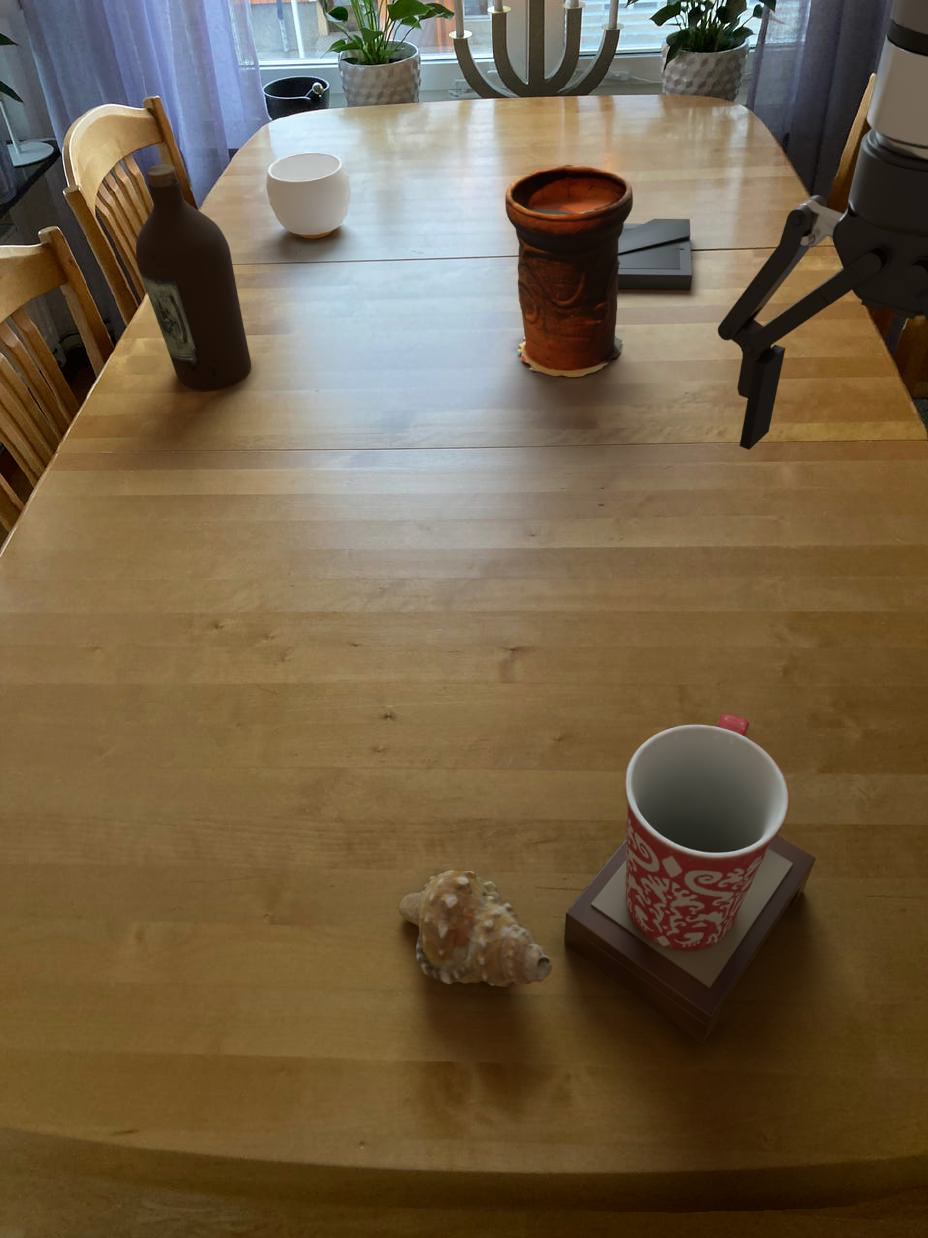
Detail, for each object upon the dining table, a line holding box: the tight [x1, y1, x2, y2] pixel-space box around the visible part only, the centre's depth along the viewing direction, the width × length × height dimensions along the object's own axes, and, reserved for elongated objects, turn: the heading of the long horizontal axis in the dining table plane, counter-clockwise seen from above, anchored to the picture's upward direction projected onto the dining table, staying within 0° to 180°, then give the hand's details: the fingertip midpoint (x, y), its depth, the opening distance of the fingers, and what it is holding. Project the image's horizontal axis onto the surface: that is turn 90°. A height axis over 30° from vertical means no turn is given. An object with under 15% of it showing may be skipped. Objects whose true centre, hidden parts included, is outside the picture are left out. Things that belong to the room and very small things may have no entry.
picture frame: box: [618, 218, 693, 291], centre depth 137 cm, size 16×3×21 cm
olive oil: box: [135, 163, 252, 392], centre depth 114 cm, size 11×11×25 cm
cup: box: [265, 151, 352, 240], centre depth 147 cm, size 12×12×10 cm
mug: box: [624, 713, 790, 951], centre depth 60 cm, size 13×9×14 cm
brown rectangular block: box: [563, 834, 816, 1045], centre depth 67 cm, size 11×14×5 cm
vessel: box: [504, 164, 634, 378], centre depth 115 cm, size 14×14×20 cm
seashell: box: [398, 869, 553, 988], centre depth 66 cm, size 9×8×10 cm
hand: (846, 474), depth 64 cm, fingers open, 13 cm apart
